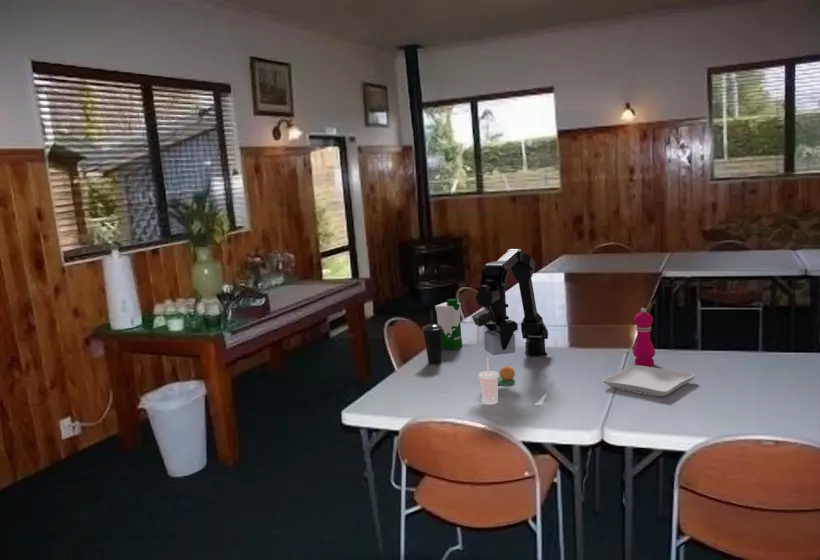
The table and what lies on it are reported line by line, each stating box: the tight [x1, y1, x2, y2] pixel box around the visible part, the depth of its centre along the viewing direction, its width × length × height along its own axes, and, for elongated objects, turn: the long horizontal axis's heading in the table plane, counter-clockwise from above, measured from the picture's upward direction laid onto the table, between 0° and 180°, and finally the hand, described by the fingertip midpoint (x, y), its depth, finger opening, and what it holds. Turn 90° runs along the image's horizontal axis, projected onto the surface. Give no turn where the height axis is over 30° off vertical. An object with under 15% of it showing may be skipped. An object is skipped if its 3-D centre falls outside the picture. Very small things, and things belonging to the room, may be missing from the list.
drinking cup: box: [422, 310, 443, 365], centre depth 253 cm, size 8×8×20 cm
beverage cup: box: [477, 357, 500, 405], centre depth 206 cm, size 6×6×14 cm
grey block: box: [483, 330, 516, 356], centre depth 224 cm, size 8×8×6 cm
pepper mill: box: [632, 307, 656, 367], centre depth 232 cm, size 7×7×20 cm
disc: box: [498, 376, 516, 387], centre depth 226 cm, size 9×9×1 cm
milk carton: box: [434, 298, 463, 351], centre depth 274 cm, size 9×9×20 cm
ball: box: [499, 365, 516, 381], centre depth 226 cm, size 5×5×5 cm
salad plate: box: [602, 364, 696, 397], centre depth 211 cm, size 21×21×3 cm
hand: (499, 346), depth 225 cm, fingers closed on grey block, 8 cm apart
